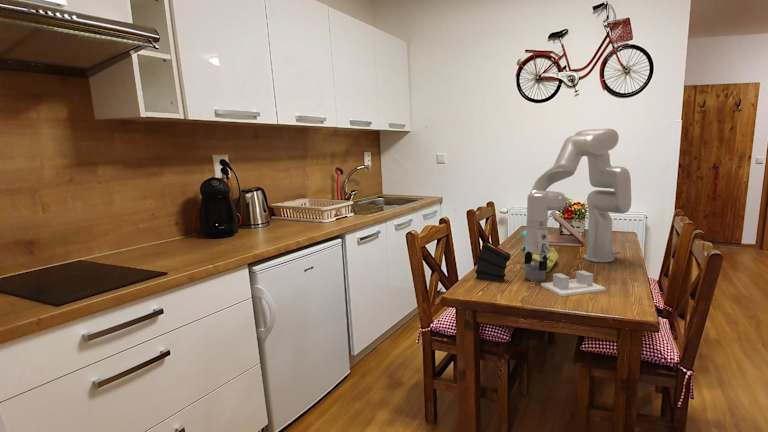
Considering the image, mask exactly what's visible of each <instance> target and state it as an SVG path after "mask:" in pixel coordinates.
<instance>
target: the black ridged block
mask: <svg viewBox="0 0 768 432" xmlns="http://www.w3.org/2000/svg"><path fill="white" fill-rule="evenodd" d="M481 247H482V249H481V251H480V253H479V255H477V265H476V269H475V270H474V271H475V274H476V275H475V278H476V279H477V280H487V281H495V282H504V280H505V277H506V269H507V267H508V266H507V264H508V262H509V261H510V260H511V256H512V254H511V253H509V252H508V251H505V250H503V249H502V248H500V247H497V246H495V245H494V244H492V243H490V242H489V241H486V242H485V243H484V244H483V245H482V246H481Z"/></svg>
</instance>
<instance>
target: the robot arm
mask: <svg viewBox="0 0 768 432" xmlns="http://www.w3.org/2000/svg"><path fill="white" fill-rule="evenodd" d="M619 138H620V137H619V134H618V132H617V130H615V129H613V128H598V129H597V128H595V129H583V130H578V131H577V132H575V133H574V135H570V136H568V137H567V138H566V139H565V140H564V142H563V143H562V144H563V145H562V147H561V149H560V150H559V153H558V155H557V157H556V160H555V162H554V164H553V165H552V167H550V168H548V169H547V170H546V171H544V173H543V174H541V175H540V176H539V177H538V178H537V179H536V180H535V182H534V184H533V186H532V188H531V190H530V192H529V193H528V195H527V202H526V203H527V204H526V205H527V206H526V229H525V231H526V235H525V237H524V241H522V247H523V248H522V250H523V249H524V250H523V254H524V265H525V264H530V263H531V262H532V256H533V254H536V255H538V256H539V258H540V261H539V271H545V270H547V261H548V258H549V257H550V254H551V251H550V250H549V247H550V245H549V235H550V234H549V229H548V216H549V214H548V213H549V211H551V212H552V211H554V212H557V211H561V210H563V209H564V207H565V206H566V204H567V197H566V195H565V194H564V193H562V192H559V191H553V190H552V191H551V190H547V189H548V188H550V187H551V186H552V185H554V184H555V183H558V182H560V181H563V180H566V179H567V178H570V177H572V176H574V175H575V173H576V171H577V170H578V169H577V168H578V166H579V164H580V162H581V159H582V158H583V157H586V158H587V167H588V178H589V180H588V181H589V184H590V185H591V187H593V188H597V190H596V189H595V190H592V191H591V192H589V193H588V195H587V197H586V206H587V212H588V227H587V228H588V229H587V245H586V246H587V248H586V250H587V251H586V253H585V254H583V256H582V257H583V259H584V260H585V261H589V262H593V263H603V264H604V263H613V262H614V261H615V257H614V256H615V255H619V254H620V253H621V252H620V250H619V249H615V250H614V249H612V238H613V237H612V235H613V219H612V217H611V215H610V213H612V214H626V213H628V212H629V211H630V209H631V207H632V186H631V185H632V180H631V174H630V171H629V169H627V168H626V167H625V166H624V167H623V166H620V165H619V166H618V165H617V166H616V165H613V166H612V164H611V158H610V157H611V155H610V152H609V151H611V150H613V149H615V147H616V146H617V145H618V143H619ZM609 189H611V190H609ZM542 255H544V256H543V257H542Z"/></svg>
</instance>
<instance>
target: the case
mask: <svg viewBox="0 0 768 432" xmlns="http://www.w3.org/2000/svg"><path fill="white" fill-rule="evenodd" d="M551 216H552V218H553V220H554V221H555V222H557V223H558V224H559V225H560V226H561V227H562V228H564V230H566V231H567V232H568V233H569V234H570V235H559V234H558V235H557V234H549V246H559V247H560V246H561V247H564V246H565V247H582V246H583V243H584V242H585V241H584V239H583V236H582V234H581V233H580V232H579V231H578V230H577V229H575V228H574V227H573V226H572V225H571V224H569V223H568V222H567V221H566V220H565V219H564V218H562V217H561V216H560V215H559V214H558V213H557V212H556V211H551Z"/></svg>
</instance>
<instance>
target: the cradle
mask: <svg viewBox="0 0 768 432" xmlns="http://www.w3.org/2000/svg"><path fill="white" fill-rule="evenodd" d="M575 275H576V278H574V279H573V278H572V279H570V276H567V275H565V274H563V273H560V272H559V273H553V274H552V281H551V282H550V281H548V282H542V283H541V284H540V286H541V287H542V288H544V289H546V290H548V291H550V292H552V293H554V294H556V295H558V296H560V297H567V296H568V297H569V296H575V295H583V294H591V293H597V292H598V293H599V292H605V291H606V287H604V286H602V285H600V284H599V285H598V284H597V283H594V274H593V273H590V272H588V271H586V270H577V271H576V274H575Z"/></svg>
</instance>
